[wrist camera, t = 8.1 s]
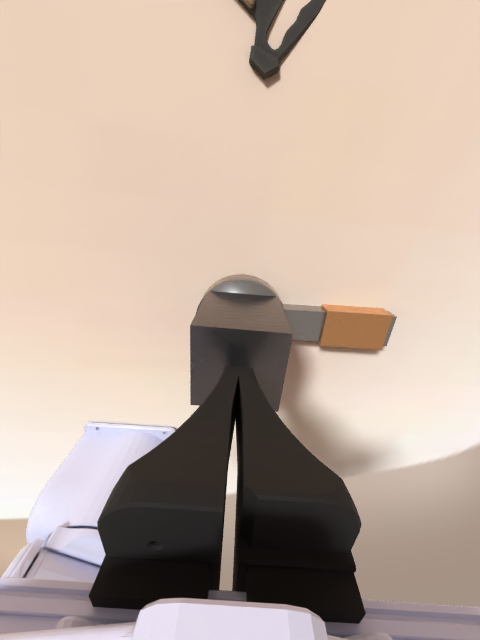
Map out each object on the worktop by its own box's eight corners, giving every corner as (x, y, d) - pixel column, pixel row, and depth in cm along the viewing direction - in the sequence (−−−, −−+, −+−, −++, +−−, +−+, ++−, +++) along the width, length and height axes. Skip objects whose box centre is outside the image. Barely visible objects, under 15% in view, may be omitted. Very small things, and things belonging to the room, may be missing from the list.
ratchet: (199, 349, 21) (187, 383, 17) (199, 271, 19) (184, 288, 14) (371, 360, 21) (404, 398, 17) (397, 285, 19) (443, 306, 14)
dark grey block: (206, 351, 19) (190, 404, 14) (208, 290, 17) (190, 325, 12) (268, 356, 19) (277, 411, 14) (277, 296, 17) (292, 333, 12)
